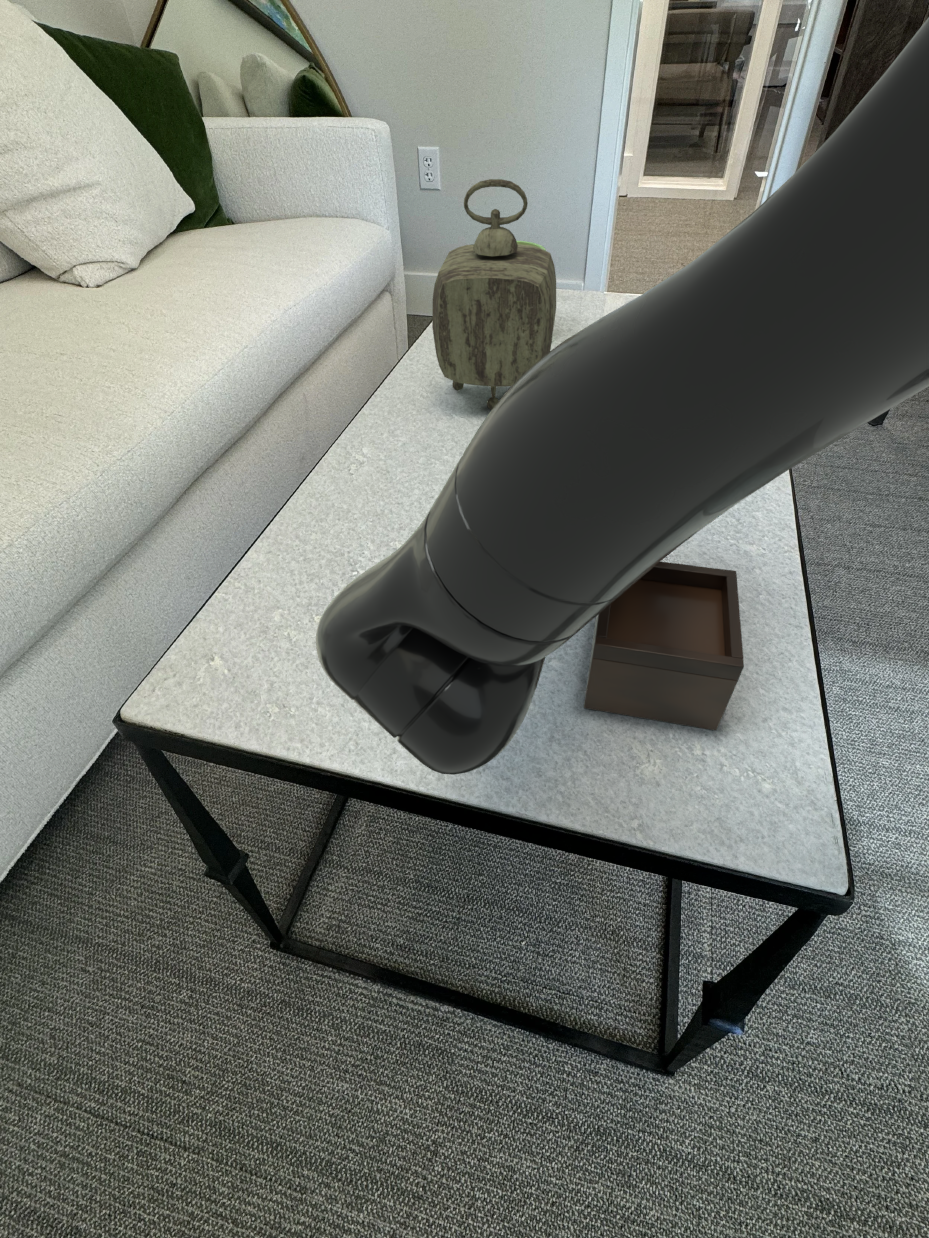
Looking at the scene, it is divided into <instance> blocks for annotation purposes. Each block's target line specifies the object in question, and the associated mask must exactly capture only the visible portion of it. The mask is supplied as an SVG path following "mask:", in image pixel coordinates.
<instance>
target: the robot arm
mask: <svg viewBox="0 0 929 1238" xmlns="http://www.w3.org/2000/svg"><path fill="white" fill-rule="evenodd" d="M928 387H929V16H928V17H927V19H926V20H925V21H924V23H923V24H922V25H921V26H920V28H919V29H918V30H917V31H916V33H915V34H914V35H913V37H912V38H910V40H909V41H908V43H907V44H906V45H905V47H904V48H903V49H902V51H900V53H899V54H898V55H897V57H896V58H895V59H894V60H893V62H892V63H891V64H890V65H889V67H888V68H887V69H886V70H885V72H884V73H883V74H882V75H881V77H880V78H879V79H878V80H877V81H876V83H874V85H873V86H872V87H871V88H870V89H869V90H868V92H867V93H866V94H865V95H864V96H863V98H862V99H861V100H860V101H859V102H858V104H856V106H855V107H854V108H853V109H852V111H851V112H850V113H849V114H848V115H847V116H846V117H845V119H844V120H843V121H842V122H841V123H840V124H839V126H838V127H837V128H836V129H835V130H834V131H833V132H832V134H831V135H830V136H829V137H828V138H827V139H826V140H825V141H824V142H823V143H822V144H821V145H820V146H819V147H818V149H816V150H815V151H814V152H813V154H812V155H811V156H810V157H809V158H808V159H807V160H806V161H805V162H804V163H803V164H801V166H800V167H799V168H798V169H797V170H796V171H795V172H794V173H793V174H792V175H791V176H790V177H789V178H788V179H787V180H786V181H785V182H784V183H783V184H781V185H780V186H779V188H777V189H776V190H775V191H774V192H773V193H772V194H771V195H770V196H769V197H768V198H767V199H766V200H765V201H763V202H762V203H761V204H760V205H759V206H758V207H757V208H756V209H754V211H753V212H751V213H750V214H749V215H748V216H746V217H745V218H744V219H743V220H742V221H740V222H739V223H738V224H737V225H736V226H734V227H733V228H732V229H730V230H729V231H728V232H727V233H726V234H724V235H723V236H722V237H721V238H719V239H718V240H717V241H716V242H715V243H713V244H712V245H711V246H709V248H707V249H706V250H704V252H702V253H701V254H700V255H698V256H697V257H696V258H695V259H694V260H692V261H691V262H689V263H688V264H686V265H684V266H683V267H682V268H680V269H679V270H677V271H676V272H674V273H672V274H671V275H670V276H668V277H666V278H665V279H663V280H662V281H660V282H658V283H657V284H656V285H655V286H653V287H652V288H650V289H648V290H647V291H645V292H644V293H643V294H641V295H638V296H637V297H635V298H634V299H632V300H630V301H628V302H626V303H625V304H623V305H621V306H619V307H617V308H616V309H613V311H611V312H609V313H607V314H605V315H604V316H602V317H600V318H599V319H597V320H596V321H594V322H593V323H591V324H589V325H587V326H586V327H584V328H583V329H581V330H579V331H578V332H576V333H574V334H572V335H571V336H569V337H568V338H566V339H565V340H564V341H561V342H560V343H559V344H558V345H556V346H555V347H554V348H551V350H550V352H548V353H547V354H546V355H545V356H544V357H542V358H541V359H540V360H539V361H538V362H536V363H535V364H534V365H533V366H532V367H531V368H530V369H529V370H528V371H527V372H525V373H524V374H523V375H522V376H521V377H520V378H519V379H518V380H517V381H516V382H515V383H514V384H513V386H510V387H509V389H508V390H506V391H505V393H504V394H503V395H502V396H501V398H500V399H498V400H499V401H498V403H497V404H496V405H495V406H494V407H493V409H492V410H491V409H490V411H489V413H488V414H487V416H486V417H485V419H484V420H483V421H482V422H481V424H480V426H479V427H478V429H477V430H476V432H475V434H474V435H473V437H472V438H471V440H470V441H469V444H468V445H467V446H466V448H465V450H464V451H463V453H462V455H461V456H460V458H459V460H458V462H457V463H456V465H455V466H454V468H453V470H452V471H451V473H450V476H449V477H448V479H447V480H446V482H445V484H444V485H443V488H442V489H441V490H440V492H439V494H438V496H437V497H436V499H435V500H434V502H433V504H432V506H431V508H430V509H429V511H428V512H427V514H426V515H425V517H424V519H423V520H422V522H421V523H420V524H419V526H418V527H417V528H416V529H415V530H414V532H413V533H412V534H411V535H410V536H409V537H408V539H407V540H405V542H404V543H403V544H402V545H401V546H400V547H398V548H396V550H394V551H393V552H392V553H391V554H390V555H388V556H386V557H385V558H384V559H382V560H380V561H379V562H378V563H376V564H374V565H373V566H371V567H369V568H368V569H367V570H365V571H364V572H362V573H360V574H359V575H358V576H357V577H355V578H354V579H353V580H352V581H350V582H349V583H348V584H347V585H346V586H345V587H344V588H343V589H341V590H340V591H339V592H338V593H337V594H336V595H335V596H334V597H333V599H332V600H331V601H330V602H329V604H328V605H327V606H326V608H325V610H324V611H323V613H322V615H321V617H320V618H319V621H318V624H317V628H316V632H315V647H316V654H317V658H318V662H319V664H320V666H321V668H322V671H323V672H324V674H325V675H326V676H327V677H328V679H329V680H330V682H332V683H333V685H335V686H336V687H337V689H339V690H340V691H341V692H342V693H343V694H344V695H345V696H346V697H347V698H349V699H350V700H351V701H353V702H354V704H355V705H357V706H358V707H359V708H360V709H361V710H362V711H363V712H364V713H365V714H367V715H368V716H369V718H371V719H372V720H373V721H375V723H376V724H378V725H379V726H380V727H381V728H382V729H384V731H386V732H387V733H388V734H389V735H390V737H392V738H393V739H396V738H397V739H396V742H398V743H399V745H401V747H402V748H404V749H405V750H406V751H407V752H408V753H409V754H411V755H412V756H413V757H414V758H415V759H416V760H417V761H418V762H419V763H420V764H422V765H423V766H425V767H427V768H428V769H429V770H431V771H433V772H436V773H437V774H438V773H439V774H441V775H449V776H451V775H452V776H455V775H461V774H467V773H469V772H472V771H476V770H477V769H480V768H482V767H484V766H486V765H487V764H488V763H490V762H491V761H493V760H494V759H496V758H497V757H498V756H499V755H500V754H501V753H502V752H503V751H504V750H505V749H506V747H507V746H508V745H509V744H510V743H511V741H513V738H514V737H515V735H516V734H517V733H518V731H519V729H520V727H521V726H522V724H523V722H524V720H525V718H526V716H527V713H528V711H529V708H530V706H531V704H532V701H533V699H534V696H535V694H536V691H537V687H538V685H539V680H540V678H541V673H542V671H543V667H544V663H545V660H546V657H547V656H549V655H551V654H553V653H555V652H556V651H557V650H558V649H560V647H562V646H563V645H564V644H565V643H567V642H568V641H569V640H571V639H572V638H573V637H574V636H575V635H576V634H578V633H579V632H580V631H581V630H582V629H584V627H585V626H587V625H588V624H589V623H590V622H591V621H593V620H594V619H596V616H597V615H598V614H599V613H601V612H602V611H603V610H604V609H605V608H607V607H608V606H609V605H610V604H611V603H612V602H614V601H615V600H616V599H617V598H618V597H619V596H621V595H622V594H623V593H624V592H625V591H626V590H628V589H629V588H630V587H631V586H632V585H633V584H635V583H636V582H637V581H638V580H639V579H640V578H641V577H643V576H644V575H645V574H646V573H647V572H648V571H650V570H651V569H652V568H653V567H654V566H655V565H657V564H658V563H659V562H660V561H661V562H662V561H663V560H664V559H665V558H667V557H668V556H670V554H672V553H673V552H674V551H676V550H677V549H678V548H679V547H681V546H682V545H684V543H686V542H687V541H688V540H689V539H691V538H692V537H693V536H695V535H696V534H697V533H698V532H700V531H702V530H703V529H704V528H705V527H707V526H708V525H709V524H712V522H714V521H715V520H717V519H718V518H719V517H720V516H723V514H725V513H726V512H727V511H729V510H730V509H732V508H733V507H735V506H736V505H737V504H739V503H740V502H742V501H744V500H745V499H747V498H748V497H749V496H751V495H752V494H754V493H756V492H757V491H759V490H760V489H762V488H763V487H765V486H767V485H768V484H769V483H771V482H772V481H774V480H775V479H777V478H779V477H780V476H781V475H783V474H785V473H786V472H788V471H789V470H791V469H792V468H794V467H796V466H798V465H799V464H800V463H801V464H802V463H803V462H804V461H806V460H807V459H810V458H811V457H812V456H814V455H816V454H818V453H819V452H821V451H823V450H824V449H826V448H828V447H829V446H831V445H833V444H834V443H836V442H838V441H839V440H841V439H843V438H845V437H847V436H848V435H849V434H851V433H853V432H854V431H856V430H858V429H859V428H861V427H863V426H864V425H866V424H868V423H869V422H871V421H872V420H874V419H876V418H877V417H879V416H881V415H882V414H884V413H886V412H888V411H889V410H891V409H892V408H894V407H896V406H898V405H900V404H901V403H903V402H905V401H906V400H908V399H909V398H912V397H913V396H914V395H916V394H918V393H920V392H922V391H923V390H925V389H926V388H928Z"/></svg>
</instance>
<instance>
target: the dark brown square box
mask: <svg viewBox="0 0 929 1238" xmlns="http://www.w3.org/2000/svg"><path fill="white" fill-rule="evenodd" d="M737 574H738V573H737V570H732V569H723V568H715V567H709V566H700V565H694V564H693V565H692V564H685V563H677V562H669V561H662V560H661V561H660V562H659V563H658V564H657V565H655V566H654V567H653V568H652V569H651V570H650V571H648V572H647V573H646V574H645V575H644V576H643V577H641V578H640V579H639V580H638V581H637V582H636V583H635V584H633V585H632V586H631V587H630V588H629V589H628V590H626V591H625V592H624V593H623V594H622V595H621V596H619V597H618V598H617V599H616V600H615V601H614V602H612V603H611V604H610V605H609V606H608V607H607V608H605V609H604V610H603V611H602V612H601V613H599V614H598V615H597V616H596V617H595V622H594V628H593V635H592V641H591V642H592V643H591V650H590V656H589V664H588V672H587V679H586V686H585V694H584V702H583V709H587V710H594V711H600V712H605V713H610V714H617V715H623V716H629V717H633V718H639V719H644V720H645V719H647V720H652V721H657V722H663V723H669V724H676V725H680V726H687V727H693V728H699V729H705V730H709V731H717V730H718V728H719V726H720V724H721V720H722V718H723V716H724V714H725V712H726V710H727V707H728V705H729V702H730V700H731V698H732V695H733V693H734V692H735V689H736V687H737V684H738V682H739V679H740V677H741V675H742V673H743V671H744V668H745V663H744V649H743V636H742V635H743V634H742V624H741V613H740V601H739V587H738V586H739V585H738V575H737Z"/></svg>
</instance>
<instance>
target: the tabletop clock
mask: <svg viewBox="0 0 929 1238" xmlns="http://www.w3.org/2000/svg"><path fill="white" fill-rule="evenodd" d="M486 188H505V189H509V190H511V191H513V192H515V193H517V195H519V196H520V198H521V200H522V203H523V204H522V205H523V206H522V207H521V210H519V211H518V212H517V213H515V214H513V215H509V216H504V217H503V216H502V217H501V211H500V209H497V208H494V209H492V210H491V212H490V216H482V215H479V214H476V213H474V211H472V210H471V209H470V208H469V200H470V198H471V196H472V195H473V194H475V192H477V191H479V190H481V189H486ZM463 208H464V211H465V213H466V215H468V216H469V218H470V219H472V220H473V221H475V222H477V223H479V224H481V225H482V224H483V225H488V227H485V228H483V229H481V231H480V232H479V233H478V235H477V237H476V238H475V240H474V243H473V244H465V245H461V246H458V247H456V248H454V249H452V250H450V251H449V252H448V253H447V255H446V257H445V259H444V260H443V263H442V265H441V266H440V269H439V270H438V273H437V275H436V279H435V282H434V286H433V293H432V313H431V314H432V318H431V319H432V320H431V321H432V322H431V323H432V325H431V326H432V335H433V341H434V347H435V354H436V359H437V363H438V367H439V369H440V371H441V373H442V375H443V377H444V378H445V379H448V380H450V381H452V385H451V386H452V388H453V390H455V391H457V392H458V391H459V392H460V391H462V390H463V389H464V386H465V385H472V386H481V387H489V388H490V397H489V398H487V401H486V406H487V408H488V409H489V410H490V411H491V410H492V409H493V407H494V406H495V405H496V404H497V403H498V401H499V400H500V399H498V398H497V397H496V395H497V388H499V387H500V388H501V387H502V388H503V387H504V388H505V387H512V386H513V384H514V383H515V382H516V381H517V380H518V379H519V378H520V377H521V376H522V375H523V374H524V373H525V372H527V371H528V370H529V369H530V368H531V367H532V366H533V365H534V364H535V363H536V362H538V361H539V360H540V359H541V358H542V357H544V356H545V355H546V354H547V353H548V352H550V351H551V350H552V342H553V334H554V326H555V320H556V314H557V313H556V312H557V276H556V275H557V274H556V269H555V268H556V267H555V263H554V260H553V257H552V254H551V252H549V251H547V250H546V251H545V250H543V249H541V248H538V247H535V246H530V245H521V244H517V241H518V240H517V239H516V236H515V234H513V232H512V231H511V230H510V229H508V228H506V227H504V226H503V225H509V224H511V223H514V222H517V221H518V220H520V219H521V218H522V217H523V215H525V213H526V212H527V209H528V198H527V195H526V193H525V191H524V189H522V188H521V186H520V185H518V184H517V183H516V182H513V181H511V180H507V179H502V178H500V179H499V178H493V179H492V178H489V179H485V180H480V181H478V182H477V183H475V184H473V185H472V186H471V187H470V188H468V190H467V191H466V193H465V196H464V198H463Z"/></svg>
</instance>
